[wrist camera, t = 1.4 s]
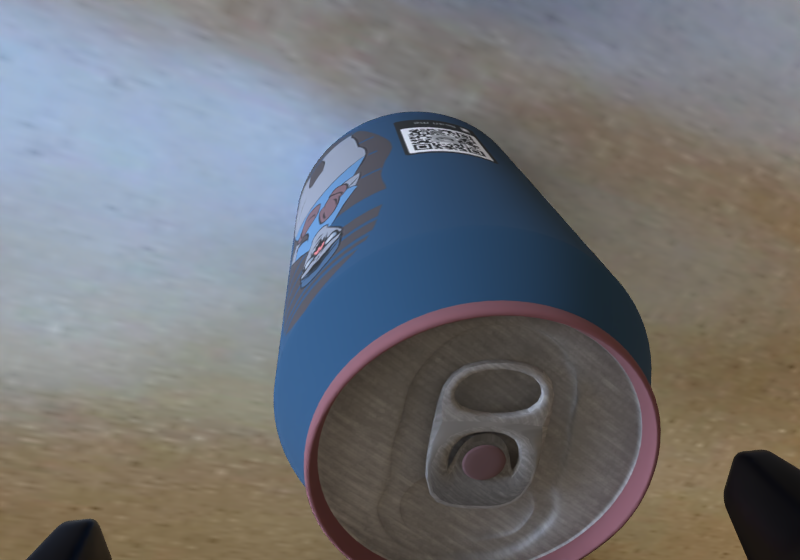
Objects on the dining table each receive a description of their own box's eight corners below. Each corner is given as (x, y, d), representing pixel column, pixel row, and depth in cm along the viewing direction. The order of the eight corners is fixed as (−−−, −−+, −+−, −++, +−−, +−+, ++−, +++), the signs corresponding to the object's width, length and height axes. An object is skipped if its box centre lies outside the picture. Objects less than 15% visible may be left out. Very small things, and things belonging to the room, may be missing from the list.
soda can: (492, 315, 23) (631, 622, 12) (291, 300, 22) (254, 619, 12) (535, 115, 20) (764, 291, 10) (306, 89, 19) (276, 249, 9)
